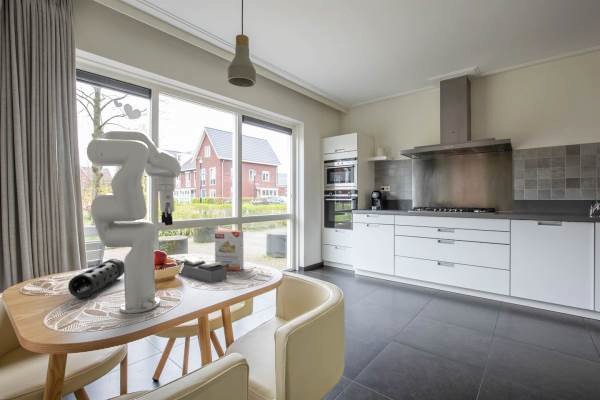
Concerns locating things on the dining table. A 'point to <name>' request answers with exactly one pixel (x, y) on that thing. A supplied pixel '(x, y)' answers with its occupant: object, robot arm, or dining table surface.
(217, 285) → the dining table surface
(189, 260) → the far rocker
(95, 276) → the muzzle brake
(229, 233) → the cracker box
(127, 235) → the robot arm
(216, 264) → the near rocker
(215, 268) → the switch box
